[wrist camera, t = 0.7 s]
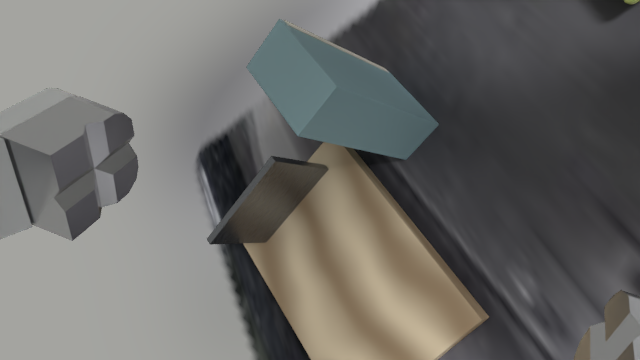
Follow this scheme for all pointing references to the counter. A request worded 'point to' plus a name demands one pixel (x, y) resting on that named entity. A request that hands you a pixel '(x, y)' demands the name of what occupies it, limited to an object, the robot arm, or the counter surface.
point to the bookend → (267, 201)
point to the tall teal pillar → (338, 94)
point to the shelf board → (362, 272)
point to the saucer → (631, 1)
